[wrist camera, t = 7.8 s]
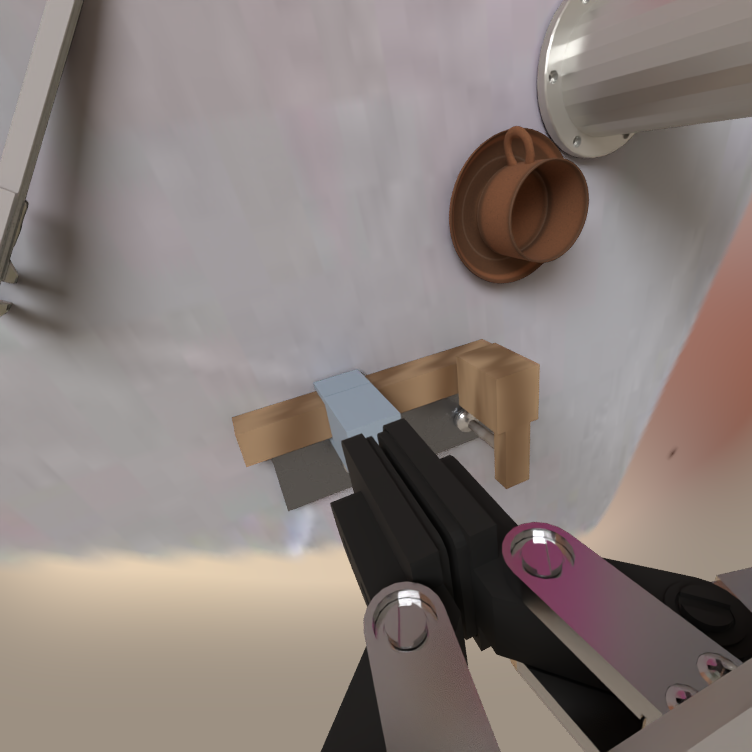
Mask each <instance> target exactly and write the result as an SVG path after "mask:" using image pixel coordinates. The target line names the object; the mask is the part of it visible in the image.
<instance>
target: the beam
mask: <svg viewBox="0 0 752 752" xmlns="http://www.w3.org/2000/svg"><path fill="white" fill-rule="evenodd" d="M539 370H540V364H538V363H536V362H534V361H532V360H529V359H527V358H525V357H523V356H521V355H519V354H517V353H515V352H513V351H511V350H509V349H507V348H505V347H503V346H501V345H499V344H496V343H493V344H491V343H489V342H487V341H485V340H483V339H481V340H478V341H475V342H471V343H468V344H465V345H462V346H459V347H455V348H452V349H449V350H446V351H443V352H440V353H436V354H433V355H430V356H427V357H424V358H420V359H417V360H414V361H411V362H408V363H404V364H401V365H398V366H395V367H392V368H388V369H385V370H382V371H379V372H376V373H373V374H369V375H366V376H365V377H366V378H367V379H368V380H369V381H370V383H371V384H372V385H373V386H374V387H375V388H376V389H377V390H378V391H379V392H380V393H381V394H382V395H383V396H384V397H385V398H386V399H387V400H388V401H389V402H390V403H391V404H392V405H393V406H394V407H395V408H396V409H397V410H398V411H399V412H400V413H403V412H406V411H409V410H412V409H414V408H417V407H420V406H423V405H426V404H429V403H432V402H435V401H437V400H440V399H443V398H446V397H449V396H452V395H455V394H457V393H459V405H460V406H461V407H462V408H464V409H465V410H466V411H467V412H469V413H470V414H471V415H473V416H474V417H475V418H476V419H478V420H479V421H480V422H482V423H483V424H484V425H485V426H487V427H488V428H489V429H491V430H492V431H493V432H494V434H492V433H491V432H490V431H488V430H487V429H486V428H485V427H483V426H482V425H481V424H480V423H478V422H477V421H476V420H471V421H470V422H469V423H468V428H469V429H471V430H472V431H473V432H474V433H475V434H477V435H478V436H479V437H480V438H481V439H483V440H484V441H485V442H486V443H487V444H489V445H490V446H491V447H492V448H493V449H494V455H495V479H496V480H497V481H498V482H499V483H500V484H502V485H503V486H504V487H505V488H506V489H508V488H510V487H512V486H515V485H517V484H519V483H521V482H524V481H526V480H528V479H529V458H530V422H532V421H534V420H537V419H538V405H539ZM232 421H233V426H234V431H235V436H236V438H237V441H238V444H239V447H240V450H241V453H242V455H243V458H244V461H245V464H246V467H248V466H251V465H254V464H257V463H260V462H263V461H266V460H268V459H271V458H274V457H277V456H280V455H283V454H286V453H288V452H291V451H294V450H297V449H300V448H303V447H306V446H309V445H311V444H314V443H317V442H320V441H323V440H326V439H329V438H331V437H332V433H331V429H330V424H329V420H328V416H327V411H326V407H325V404H324V402H323V401H322V399H321V398H320V396H319V395H318V393H317V391H315V392H312V393H309V394H306V395H302V396H299V397H296V398H293V399H290V400H286V401H283V402H280V403H277V404H274V405H270V406H267V407H264V408H261V409H258V410H254V411H251V412H248V413H245V414H242V415H239V416H235V417H232Z"/></svg>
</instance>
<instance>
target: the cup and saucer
mask: <svg viewBox="0 0 752 752" xmlns="http://www.w3.org/2000/svg"><path fill="white" fill-rule="evenodd" d="M588 205H589V193H588V187H587V183H586V180H585V177H584V175H583V173H582V172H581V170H580V169H579V168H578V167H577V166H576V165H575V164H574V163H573V162H571V161H569V160H567V159H564V158H563V156H562V154H561V152H560V151H559V149H558V148H557V146H556V145H555V144H554V143H553V142H552V141H551V140H550V139H549V138H548V137H547V136H545V135H544V134H542V133H540V132H538V131H535V130H533V129H528V128H522V127H520V126H514V127H512V128H510V129H508V130H505V131H502V132H500V133H498V134H496V135H494V136H492V137H491V138H489V139H488V140H486V141H485V142H484V143H482V144H481V145H480V146H479V147H478V148H477V149H476V150H475V151H474V152H473V153H472V154H471V156H470V157H469V158H468V160H467V161H466V163H465V164H464V166H463V168H462V169H461V171H460V173H459V175H458V178H457V180H456V183H455V186H454V189H453V192H452V197H451V202H450V211H449V225H450V233H451V238H452V242H453V245H454V247H455V250H456V252H457V254H458V256H459V258H460V259H461V261H462V262H463V264H464V265H465V266H466V267H467V268H468V269H469V270H470V271H471V272H472V273H474V274H475V275H476V276H478V277H480V278H481V279H484V280H486V281H489V282H493V283H510V282H514V281H517V280H520V279H522V278H524V277H526V276H528V275H530V274H531V273H532V272H534V271H535V270H536V269H538V268H539V267H540V266H541V265H542V264H543V263H545V262H550V261H553V260H555V259H557V258H559V257H560V256H562V255H563V254H564V253H566V252H567V251H568V250H569V249H570V248H571V247H572V245H573V244H574V243H575V241H576V240H577V238H578V237H579V235H580V233H581V231H582V229H583V226H584V224H585V221H586V217H587V213H588Z"/></svg>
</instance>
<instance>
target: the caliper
mask: <svg viewBox="0 0 752 752" xmlns="http://www.w3.org/2000/svg"><path fill="white" fill-rule="evenodd" d="M83 1H84V0H47V2H46V5H45V9H44V12H43V15H42V19H41V22H40V26H39V29H38V33H37V36H36V40H35V43H34V47H33V50H32V53H31V57H30V60H29V64H28V67H27V71H26V74H25V78H24V81H23V85H22V88H21V92H20V95H19V99H18V102H17V105H16V109H15V112H14V116H13V119H12V123H11V126H10V130H9V133H8V137H7V140H6V144H5V147H4V151H3V154H2V157H1V161H0V284H1V281H3V282H8V283H17V280H18V273H17V271H16V269H15V268H14V266H13V264H12V262H11V260H10V257H11V254H12V250H13V247H14V246H15V244H16V241H17V239H18V236H19V234H20V231H21V228H22V223H23V219H24V216H25V214H26V211H27V208H28V202H27V201H26V200H25V199H26V195H27V192H28V189H29V185H30V182H31V178H32V175H33V171H34V168H35V165H36V161H37V158H38V154H39V151H40V148H41V144H42V141H43V137H44V134H45V130H46V127H47V124H48V120H49V117H50V113H51V110H52V106H53V103H54V100H55V96H56V93H57V89H58V86H59V83H60V79H61V76H62V72H63V69H64V66H65V62H66V59H67V56H68V52H69V49H70V45H71V42H72V39H73V35H74V32H75V28H76V25H77V22H78V18H79V15H80V12H81V8H82V5H83ZM11 304H12V303H10V302H6V301H3V300H0V317H1V316H2V315H4V314H5V313H7V312H8V311H9V309H10V306H11Z"/></svg>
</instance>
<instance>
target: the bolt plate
mask: <svg viewBox="0 0 752 752" xmlns="http://www.w3.org/2000/svg"><path fill="white" fill-rule="evenodd" d="M400 415H401V419H402V418H404V419H405V420H406V421H407V422H408V423H409V424H410V425H411V426H412V428H413V429H414V430H415V431H416V432H417V433H418V435H419V436H420V437H421V438H422V439H423V440H424V441H425V443H426V444H427V445H428V446H429V447H430V448H431V450H432V451H433V452H434V453H435V454H437V453H439V452H442V451H444V450H447V449H449V448H452V447H455V446H457V445H460V444H462V443H465V442H467V441H470V440H473V439H475V438H478V437H479V436H478V435H477V434H475V433H474V432H473V431H472V430H471V429H469V428H468V423H469V422H470V421H471V420H476V421H477V422H478V423H480V424H481V425H482V426H483V427H485V428H486V429H487V430H488V431H490V432H493V431H492V430H491V429H489V428H488V427H487V426H485V425H484V424H483V423H482V422H480V421H479V420H478V419H476V418H475V417H474V416H473V415H471V414H470V413H469V412H467V411H466V410H465V409H464V408H462V407H461V406H460V405H459V393H457V394H455V395H452V396H449V397H446V398H443V399H440V400H437V401H435V402H432V403H429V404H426V405H423V406H420V407H417V408H414V409H412V410H409V411H406V412H403V413H400ZM272 461H273V464H274V467H275V471H276V474H277V477H278V480H279V483H280V486H281V490H282V493H283V496H284V499H285V502H286V505H287V509H288V511H290V510H293V509H295V508H298V507H300V506H303V505H305V504H308V503H311V502H313V501H316V500H318V499H321V498H323V497H326V496H329V495H331V494H334V493H336V492H339V491H341V490H344V489H347V488H349V487H352V483H351V479H350V475H349V472H348V471H347V469H346V467H345V466H344V464H343V462H342V460H341V459H340V457H339V455H338V453H337V452H336V450H335V448H334V447H333V445H332V443H331V441H330V440H329V439H326V440H323V441H320V442H317V443H314V444H311V445H309V446H306V447H303V448H300V449H297V450H294V451H291V452H288V453H286V454H283V455H280V456H277V457H274V458H272Z"/></svg>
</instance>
